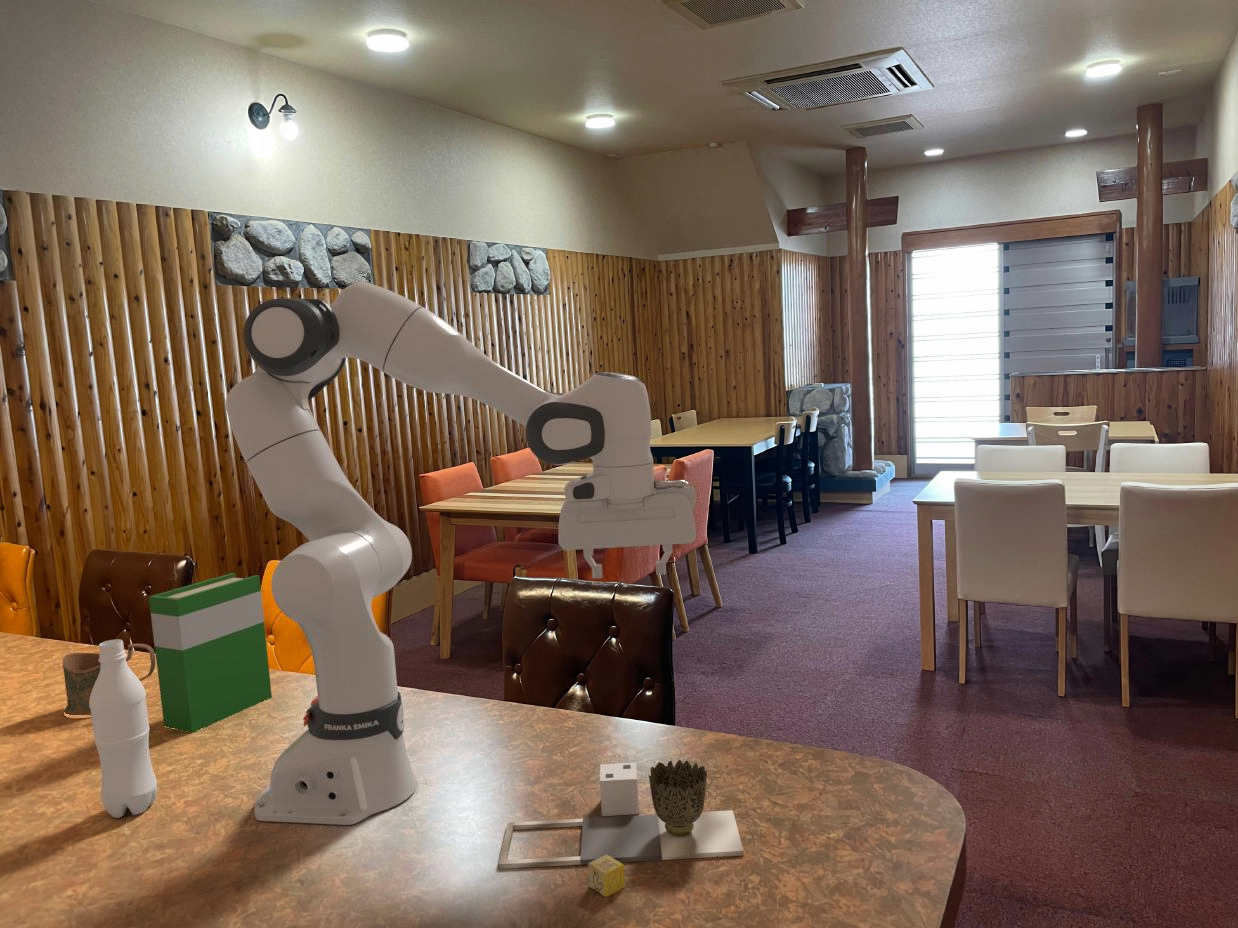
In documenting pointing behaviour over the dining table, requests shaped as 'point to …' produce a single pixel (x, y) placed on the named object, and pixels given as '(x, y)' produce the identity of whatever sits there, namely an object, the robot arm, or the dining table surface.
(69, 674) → the mug
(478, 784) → the dining table surface
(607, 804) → the die
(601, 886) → the alphabet block
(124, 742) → the water bottle
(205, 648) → the hardback book
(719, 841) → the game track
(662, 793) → the cup
